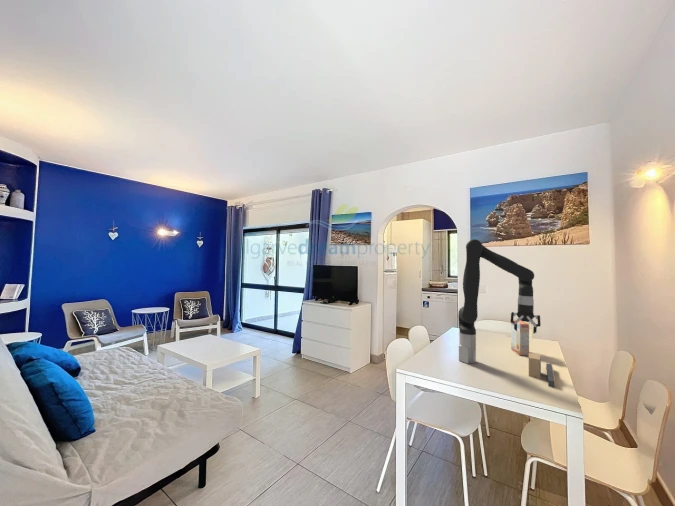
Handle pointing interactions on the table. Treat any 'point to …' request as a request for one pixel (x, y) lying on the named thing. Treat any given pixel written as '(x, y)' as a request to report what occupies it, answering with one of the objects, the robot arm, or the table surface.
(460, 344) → the robot arm
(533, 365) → the carton
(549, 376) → the rail
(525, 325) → the cracker box
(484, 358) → the table surface
